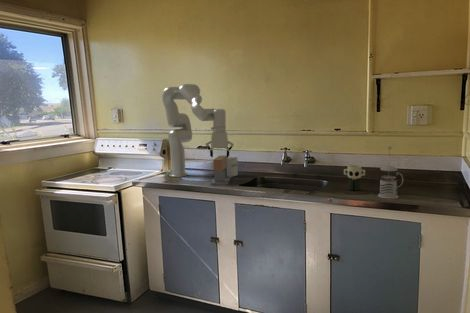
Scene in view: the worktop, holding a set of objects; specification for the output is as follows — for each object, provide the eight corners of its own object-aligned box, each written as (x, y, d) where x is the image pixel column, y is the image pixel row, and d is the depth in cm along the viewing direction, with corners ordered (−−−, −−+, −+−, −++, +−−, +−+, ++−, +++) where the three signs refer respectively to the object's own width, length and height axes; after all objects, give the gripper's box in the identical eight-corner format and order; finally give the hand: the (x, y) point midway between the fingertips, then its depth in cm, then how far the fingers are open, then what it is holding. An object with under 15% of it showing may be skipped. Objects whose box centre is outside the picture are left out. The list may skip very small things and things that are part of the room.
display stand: (210, 185, 225) (210, 171, 224) (215, 178, 247) (215, 166, 246) (227, 185, 224) (227, 171, 223) (230, 178, 246) (230, 165, 245)
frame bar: (213, 171, 226) (213, 159, 225) (219, 166, 244) (219, 155, 243) (221, 171, 226) (221, 159, 225) (227, 166, 243) (226, 155, 242)
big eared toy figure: (342, 190, 203) (343, 166, 201) (344, 187, 209) (344, 164, 208) (364, 191, 199) (364, 167, 197) (365, 189, 205) (365, 165, 204)
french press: (380, 193, 195) (381, 144, 192) (404, 195, 189) (406, 145, 186) (375, 197, 187) (376, 146, 184) (400, 199, 181) (402, 147, 178)
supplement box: (231, 177, 249) (230, 158, 247) (222, 176, 254) (222, 157, 252) (238, 175, 255) (237, 156, 253) (229, 174, 259) (228, 156, 258)
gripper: (204, 129, 229) (204, 157, 231) (233, 130, 227) (233, 158, 230) (206, 128, 236) (206, 156, 238) (234, 129, 235) (234, 156, 237)
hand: (219, 157), depth 234 cm, fingers open, 9 cm apart
